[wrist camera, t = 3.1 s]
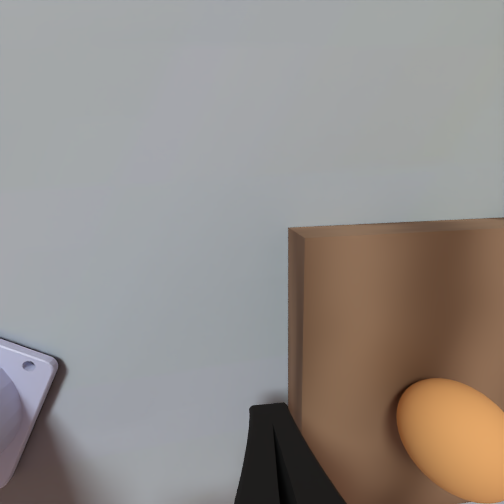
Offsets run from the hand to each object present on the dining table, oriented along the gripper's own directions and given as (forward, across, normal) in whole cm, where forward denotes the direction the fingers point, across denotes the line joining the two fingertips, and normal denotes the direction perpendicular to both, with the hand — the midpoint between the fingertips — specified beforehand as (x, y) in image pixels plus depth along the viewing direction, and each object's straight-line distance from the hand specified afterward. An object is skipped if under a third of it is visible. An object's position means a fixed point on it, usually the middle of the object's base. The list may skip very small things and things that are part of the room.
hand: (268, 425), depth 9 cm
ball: (-1, -6, 0) cm, 7 cm away
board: (+3, -10, 0) cm, 10 cm away
